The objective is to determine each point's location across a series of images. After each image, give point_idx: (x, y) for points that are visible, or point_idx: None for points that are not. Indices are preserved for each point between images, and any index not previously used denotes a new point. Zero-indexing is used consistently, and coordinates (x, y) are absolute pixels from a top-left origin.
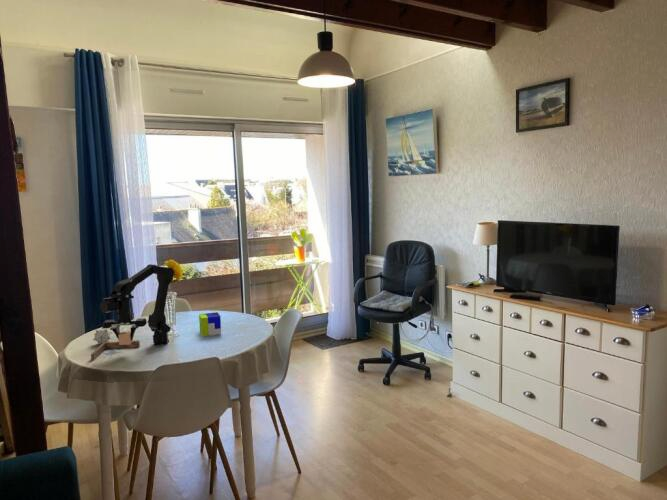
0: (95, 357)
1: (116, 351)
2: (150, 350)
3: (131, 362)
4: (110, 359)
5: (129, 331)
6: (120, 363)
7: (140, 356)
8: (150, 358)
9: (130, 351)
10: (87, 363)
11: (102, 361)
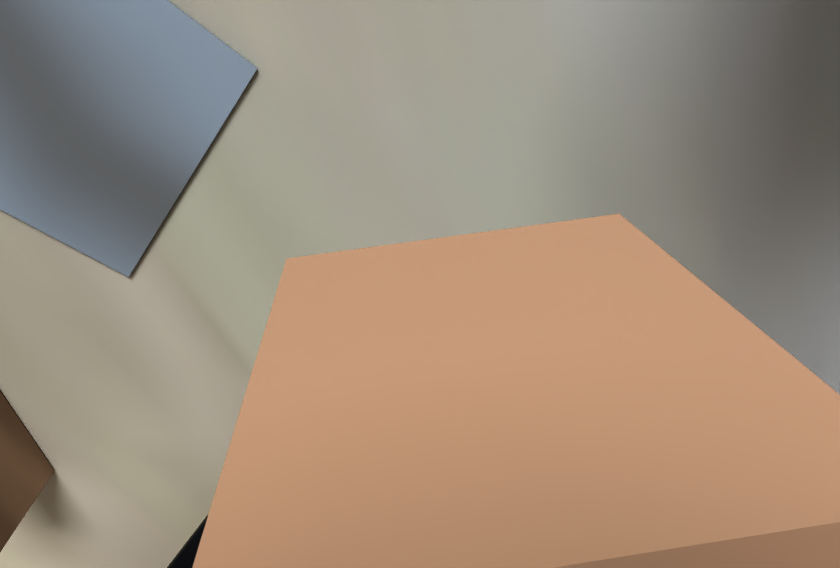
0: (10, 440)
1: (125, 63)
2: (833, 26)
3: None
4: None
5: (773, 552)
6: None
7: None
8: None
9: (439, 65)
10: (61, 550)
11: (213, 496)
